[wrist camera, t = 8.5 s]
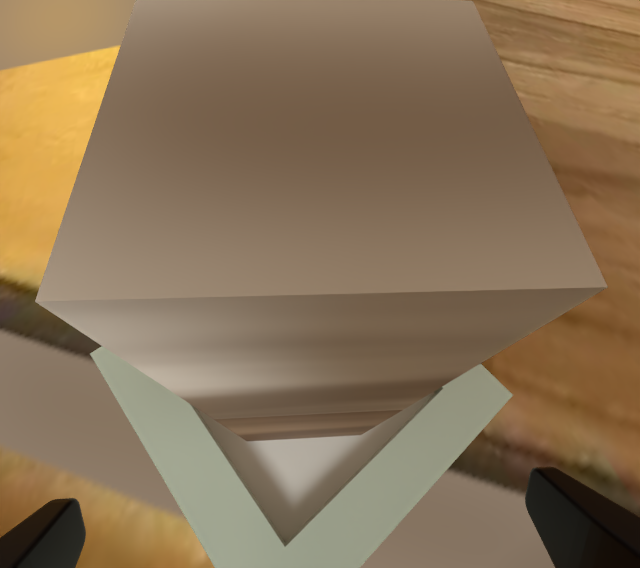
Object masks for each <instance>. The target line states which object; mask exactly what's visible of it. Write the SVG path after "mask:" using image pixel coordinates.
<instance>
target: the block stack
mask: <svg viewBox="0 0 640 568" xmlns="http://www.w3.org/2000/svg"><path fill="white" fill-rule="evenodd" d="M607 287H608V286H607V284H606V282H605V280H604V278H603V276H602V274H601V271H600V269H599V267H598V265H597V263H596V261H595V259H594V257H593V254H592V252H591V250H590V248H589V246H588V244H587V242H586V240H585V238H584V235H583V233H582V231H581V229H580V227H579V225H578V223H577V221H576V218H575V216H574V214H573V212H572V210H571V208H570V206H569V204H568V202H567V199H566V197H565V195H564V193H563V191H562V189H561V187H560V185H559V182H558V180H557V178H556V176H555V174H554V172H553V170H552V168H551V166H550V163H549V161H548V159H547V157H546V155H545V153H544V151H543V149H542V146H541V144H540V142H539V140H538V138H537V136H536V134H535V132H534V130H533V127H532V125H531V123H530V121H529V119H528V117H527V115H526V113H525V110H524V108H523V106H522V104H521V102H520V100H519V98H518V96H517V94H516V91H515V89H514V87H513V85H512V83H511V81H510V79H509V77H508V74H507V72H506V70H505V68H504V66H503V64H502V62H501V60H500V58H499V55H498V53H497V51H496V49H495V47H494V45H493V43H492V41H491V38H490V36H489V34H488V32H487V30H486V28H485V26H484V24H483V22H482V19H481V17H480V15H479V13H478V11H477V9H476V7H475V5H474V2H473V1H460V0H136V2H135V5H134V8H133V11H132V14H131V17H130V20H129V23H128V26H127V29H126V32H125V35H124V38H123V41H122V44H121V47H120V50H119V53H118V56H117V59H116V62H115V65H114V68H113V71H112V74H111V77H110V79H109V82H108V85H107V88H106V91H105V94H104V97H103V100H102V103H101V106H100V109H99V112H98V115H97V118H96V121H95V124H94V127H93V130H92V133H91V136H90V139H89V142H88V145H87V148H86V151H85V154H84V157H83V160H82V163H81V166H80V169H79V172H78V175H77V178H76V181H75V184H74V187H73V190H72V193H71V196H70V199H69V202H68V205H67V208H66V211H65V214H64V217H63V220H62V223H61V226H60V229H59V232H58V235H57V238H56V241H55V244H54V247H53V249H52V252H51V255H50V258H49V261H48V264H47V267H46V270H45V273H44V276H43V279H42V282H41V285H40V288H39V291H38V294H37V297H36V300H35V302H36V303H38V304H39V305H41V306H42V307H44V308H45V309H47V310H49V311H50V312H52V313H53V314H55V315H56V316H58V317H59V318H61V319H62V320H64V321H65V322H67V323H68V324H70V325H71V326H73V327H74V328H76V329H77V330H79V331H80V332H82V333H83V334H85V335H86V336H88V337H89V338H91V339H92V340H94V341H95V342H97V343H99V344H100V345H102V346H103V347H105V348H106V349H108V350H109V351H111V352H112V353H114V354H115V355H117V356H118V357H120V358H121V359H123V360H124V361H126V362H127V363H129V364H130V365H132V366H133V367H135V368H136V369H138V370H139V371H141V372H142V373H144V374H145V375H147V376H149V377H150V378H152V379H153V380H155V381H156V382H158V383H159V384H161V385H162V386H164V387H165V388H167V389H168V390H170V391H171V392H173V393H174V394H176V395H177V396H179V397H180V398H182V399H183V400H185V401H186V402H188V403H189V404H191V405H192V406H194V407H195V408H197V409H199V410H200V411H202V412H203V413H205V414H206V415H208V416H209V417H211V418H212V419H214V420H215V421H217V422H218V423H220V424H221V425H223V426H224V427H226V428H227V429H229V430H230V431H232V432H233V433H235V434H236V435H238V436H239V437H241V438H242V439H244V440H245V441H265V440H283V439H301V438H319V437H337V436H355V435H362V434H364V433H365V432H367V431H369V430H370V429H372V428H374V427H375V426H377V425H379V424H380V423H382V422H384V421H385V420H387V419H389V418H390V417H392V416H394V415H395V414H397V413H399V412H400V411H402V410H404V409H405V408H407V407H409V406H410V405H412V404H414V403H415V402H417V401H419V400H420V399H422V398H424V397H425V396H427V395H429V394H430V393H432V392H434V391H435V390H437V389H439V388H440V387H442V386H444V385H446V384H447V383H449V382H451V381H452V380H454V379H456V378H457V377H459V376H461V375H462V374H464V373H466V372H467V371H469V370H471V369H472V368H474V367H476V366H477V365H479V364H481V363H482V362H484V361H486V360H487V359H489V358H491V357H492V356H494V355H496V354H497V353H499V352H501V351H502V350H504V349H506V348H507V347H509V346H511V345H512V344H514V343H516V342H517V341H519V340H521V339H522V338H524V337H526V336H527V335H529V334H531V333H532V332H534V331H536V330H537V329H539V328H541V327H542V326H544V325H546V324H547V323H549V322H551V321H552V320H554V319H556V318H557V317H559V316H561V315H562V314H564V313H566V312H567V311H569V310H571V309H572V308H574V307H576V306H577V305H579V304H581V303H582V302H584V301H586V300H587V299H589V298H591V297H592V296H594V295H596V294H597V293H599V292H601V291H602V290H604V289H606V288H607Z"/></svg>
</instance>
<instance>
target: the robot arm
mask: <svg viewBox="0 0 640 568" xmlns="http://www.w3.org/2000/svg"><path fill="white" fill-rule="evenodd" d="M525 503H526V507H527V510H528V513H529V515H530V517H531V519H532V521H533V523H534V525H535V527H536V529H537V531H538V533H539V535H540V537H541V539H542V541H543V543H544V546H545V548H546V549H547V551H548V554H549V556H550V558H551V560H552V562H553V564H554V566H555V568H640V517H639V516H637V515H635V514H634V513H632V512H630V511H628V510H627V509H625V508H623V507H622V506H620V505H618V504H616V503H615V502H613V501H611V500H610V499H608V498H606V497H604V496H603V495H601V494H599V493H598V492H596V491H594V490H593V489H591V488H589V487H587V486H586V485H584V484H582V483H581V482H579V481H577V480H575V479H574V478H572V477H570V476H569V475H567V474H565V473H563V472H562V471H560V470H558V469H556V468H554V467H536V468H533V469H532V470H531V472H530V476H529V481H528V487H527V492H526V497H525ZM85 536H86V531H85V526H84V522H83V517H82V513H81V509H80V505H79V502H78V501H77V500H76V499H74V498H69V499H55V500H52V501H50V502H48V503H47V504H45V505H44V506H43V507H41V508H40V509H39V510H37V511H36V512H35V513H33V514H32V515H31V516H29V517H28V518H27V519H25V520H24V521H22V522H21V523H20V524H18V525H17V526H16V527H14V528H13V529H12V530H10V531H9V532H8V533H6V534H5V535H4V536H2V537H1V538H0V568H75V567H76V564H77V561H78V559H79V556H80V554H81V551H82V548H83V546H84V542H85Z"/></svg>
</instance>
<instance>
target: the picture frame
mask: <svg viewBox="0 0 640 568" xmlns="http://www.w3.org/2000/svg"><path fill="white" fill-rule="evenodd" d="M90 355H91V356H92V358H93V360H94V361H95V363H96V365H97V367H98V368H99V370H100V372H101V373H102V375H103V377H104V378H105V380H106V382H107V383H108V385H109V387H110V389H111V390H112V392H113V394H114V396H115V397H116V399H117V401H118V403H119V404H120V406H121V408H122V409H123V411H124V413H125V415H126V416H127V418H128V420H129V421H130V423H131V425H132V426H133V428H134V430H135V431H136V433H137V435H138V437H139V438H140V440H141V442H142V444H143V445H144V447H145V449H146V450H147V452H148V454H149V456H150V457H151V459H152V460H153V462H154V464H155V466H156V468H157V469H158V471H159V473H160V474H161V476H162V478H163V479H164V481H165V483H166V485H167V486H168V488H169V490H170V491H171V493H172V495H173V497H174V498H175V500H176V502H177V503H178V505H179V507H180V509H181V510H182V512H183V514H184V515H185V517H186V519H187V521H188V522H189V524H190V526H191V527H192V529H193V531H194V533H195V534H196V536H197V538H198V539H199V541H200V543H201V545H202V546H203V548H204V550H205V551H206V553H207V555H208V556H209V558H210V560H211V562H212V563H213V565H214V567H215V568H360V567H361V566H362V565H363V563H364V562H365V561H366V560H367V559H368V558H369V557H370V556H371V554H372V553H373V552H374V551H375V550H376V549H377V548H378V547H379V545H380V544H381V543H382V542H383V541H384V540H385V539H386V538H387V536H388V535H389V534H390V533H391V532H392V531H393V530H394V528H395V527H396V526H397V525H398V524H399V523H400V522H401V521H402V519H403V518H404V517H405V516H406V515H407V514H408V513H409V511H411V509H412V508H413V507H414V506H415V505H416V504H417V503H418V502H419V500H420V499H421V498H422V497H423V496H424V495H425V494H426V493H427V491H428V490H429V489H430V488H431V487H432V486H433V485H434V484H435V482H436V481H437V480H438V479H439V478H440V477H441V476H442V475H443V473H444V472H445V471H446V470H447V469H448V468H449V467H450V466H451V464H452V463H453V462H454V461H455V460H456V459H457V458H458V457H459V455H460V454H461V453H462V452H463V451H464V450H465V449H466V448H467V446H468V445H469V444H470V443H471V442H472V441H473V440H474V439H475V437H476V436H477V435H478V434H479V433H480V432H481V431H482V430H483V428H484V427H485V426H486V425H487V424H488V423H489V422H490V421H491V419H492V418H493V417H494V416H495V415H496V414H497V413H498V412H499V410H500V409H501V408H502V407H503V406H504V405H505V404H506V403H507V401H508V400H509V399H510V398H511V397H512V396H513V395H512V394H511V393H510V392H509V391H508V390H507V389H506V388H505V387H504V386H503V385H502V384H501V383H500V382H499V381H498V380H497V379H496V378H495V377H494V376H493V375H492V374H491V373H490V372H489V371H488V370H487V369H486V368H485V367H484V366H483V365H482V364H479V365H477V366H476V367H474V368H472V369H471V370H469V371H467V372H466V373H464V374H462V375H461V376H459V377H457V378H456V379H454V380H452V381H451V382H449V383H447V384H446V385H444V386H442V387H440V388H439V389H437V390H435V391H434V392H432V393H430V394H429V395H427V396H425V397H424V398H422V399H420V400H419V401H417V402H415V403H414V404H412V405H410V406H409V407H407V408H405V409H404V410H402V411H400V412H399V413H397V414H395V415H394V416H392V417H390V418H389V419H387V420H385V421H384V422H382V423H380V424H379V425H377V426H375V427H374V428H372V429H370V430H369V431H367V432H365V433H364V434H362V435H355V436H337V437H319V438H301V439H283V440H265V441H245V440H244V439H242V438H241V437H239V436H238V435H236V434H235V433H233V432H232V431H230V430H229V429H227V428H226V427H224V426H223V425H221V424H220V423H218V422H217V421H215V420H214V419H212V418H211V417H209V416H208V415H206V414H205V413H203V412H202V411H200V410H199V409H197V408H195V407H194V406H192V405H191V404H189V403H188V402H186V401H185V400H183V399H182V398H180V397H179V396H177V395H176V394H174V393H173V392H171V391H170V390H168V389H167V388H165V387H164V386H162V385H161V384H159V383H158V382H156V381H155V380H153V379H152V378H150V377H149V376H147V375H145V374H144V373H142V372H141V371H139V370H138V369H136V368H135V367H133V366H132V365H130V364H129V363H127V362H126V361H124V360H123V359H121V358H120V357H118V356H117V355H115V354H114V353H112V352H111V351H109V350H108V349H106V348H105V347H103V346H101V347H100V348H98V349H97V350H95V351H93V352H92V353H90Z"/></svg>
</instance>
